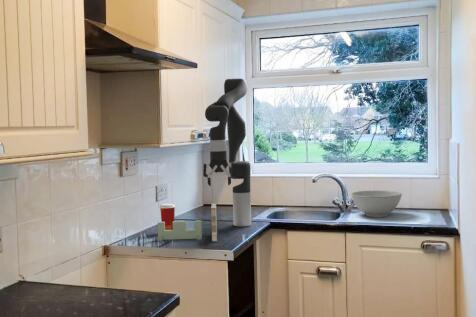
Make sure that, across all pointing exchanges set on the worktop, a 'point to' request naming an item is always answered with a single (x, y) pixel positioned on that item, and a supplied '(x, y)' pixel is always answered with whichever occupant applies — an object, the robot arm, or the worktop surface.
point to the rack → (179, 231)
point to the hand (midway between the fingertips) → (219, 185)
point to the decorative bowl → (376, 202)
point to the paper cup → (168, 215)
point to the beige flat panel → (214, 222)
